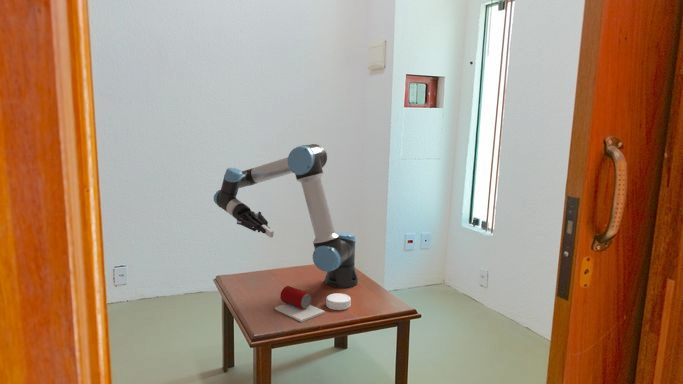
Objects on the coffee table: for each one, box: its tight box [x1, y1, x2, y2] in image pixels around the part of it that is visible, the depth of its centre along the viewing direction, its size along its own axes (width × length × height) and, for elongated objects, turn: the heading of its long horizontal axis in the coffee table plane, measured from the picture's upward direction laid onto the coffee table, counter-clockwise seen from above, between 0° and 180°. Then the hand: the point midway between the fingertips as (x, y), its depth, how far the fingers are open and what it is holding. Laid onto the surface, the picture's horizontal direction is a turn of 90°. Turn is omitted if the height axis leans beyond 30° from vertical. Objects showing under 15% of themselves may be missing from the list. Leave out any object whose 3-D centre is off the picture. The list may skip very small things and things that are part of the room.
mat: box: [274, 303, 326, 323], centre depth 190 cm, size 16×12×1 cm
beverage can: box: [280, 285, 312, 309], centre depth 193 cm, size 7×7×12 cm
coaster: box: [325, 293, 352, 311], centre depth 196 cm, size 10×10×4 cm
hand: (272, 234), depth 205 cm, fingers closed
